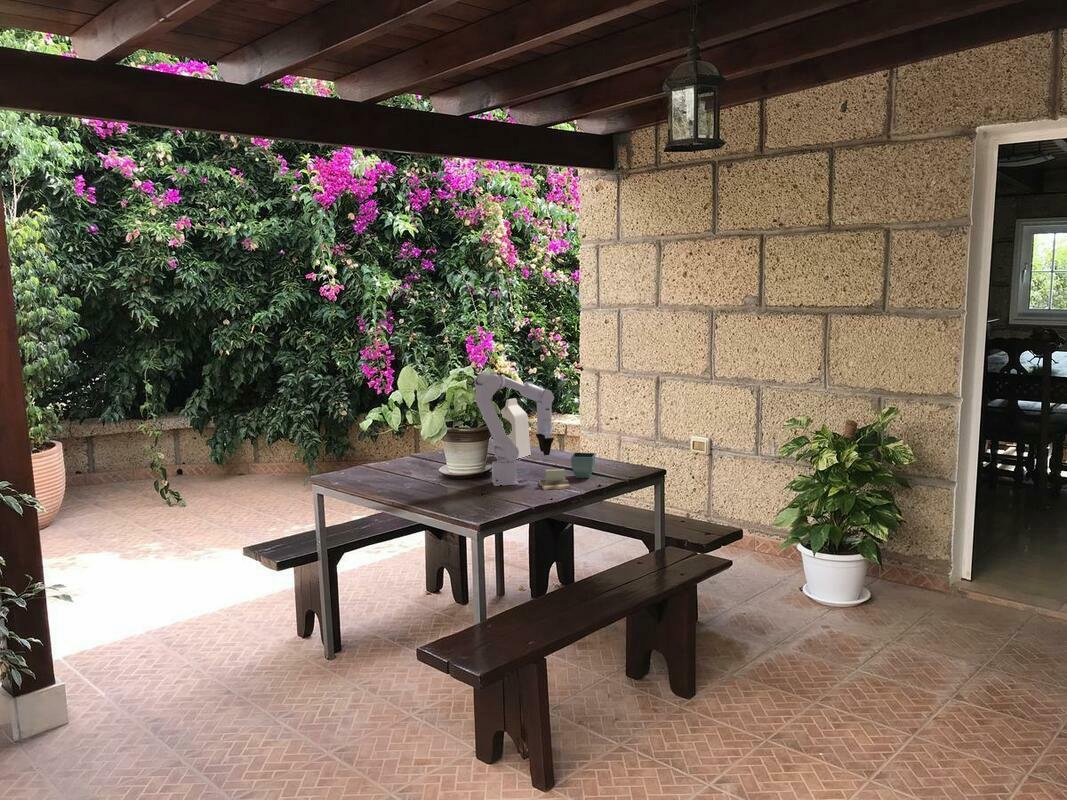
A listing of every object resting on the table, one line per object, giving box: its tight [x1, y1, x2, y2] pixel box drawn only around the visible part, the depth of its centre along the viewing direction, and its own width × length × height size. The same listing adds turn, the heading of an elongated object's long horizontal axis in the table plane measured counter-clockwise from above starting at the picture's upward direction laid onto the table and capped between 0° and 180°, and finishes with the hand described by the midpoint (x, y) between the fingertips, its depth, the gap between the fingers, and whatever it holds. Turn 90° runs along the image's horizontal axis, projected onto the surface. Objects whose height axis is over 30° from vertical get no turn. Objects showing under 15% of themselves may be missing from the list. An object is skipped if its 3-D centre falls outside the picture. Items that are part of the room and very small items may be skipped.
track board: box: [538, 477, 571, 491], centre depth 329 cm, size 10×12×2 cm
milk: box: [494, 397, 532, 459], centre depth 385 cm, size 12×12×26 cm
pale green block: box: [545, 468, 566, 481], centre depth 329 cm, size 7×2×5 cm, turn 99°
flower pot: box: [570, 452, 596, 479], centre depth 342 cm, size 9×9×9 cm
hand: (545, 453), depth 341 cm, fingers open, 7 cm apart
